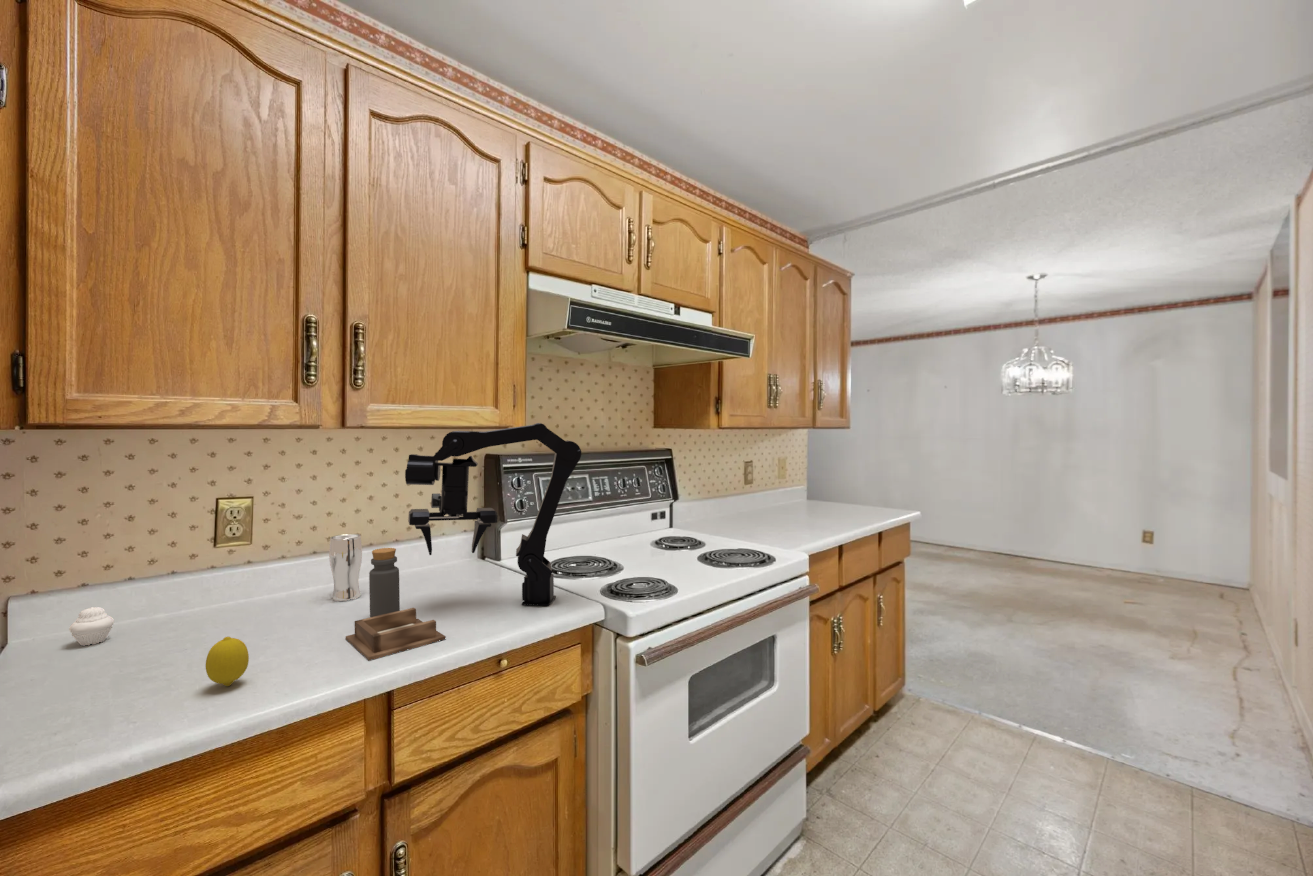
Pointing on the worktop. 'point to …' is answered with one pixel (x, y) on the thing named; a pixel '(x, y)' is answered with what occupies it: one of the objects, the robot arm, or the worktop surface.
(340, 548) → the beer glass
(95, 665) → the worktop surface
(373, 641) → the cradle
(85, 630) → the muffin
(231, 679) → the lemon
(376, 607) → the bottle
